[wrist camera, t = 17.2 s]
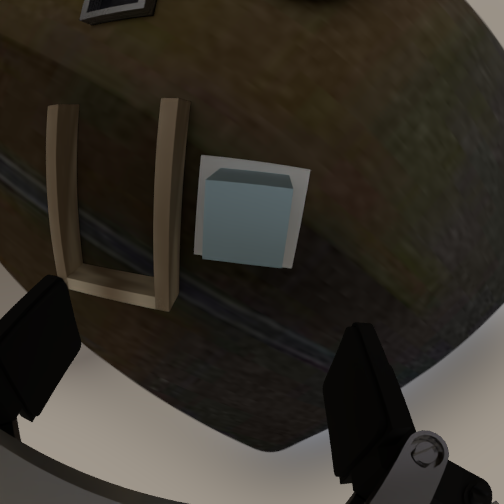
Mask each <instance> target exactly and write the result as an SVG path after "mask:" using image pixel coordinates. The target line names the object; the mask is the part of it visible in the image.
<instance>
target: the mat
mask: <svg viewBox="0 0 504 504" xmlns="http://www.w3.org/2000/svg"><path fill="white" fill-rule="evenodd" d="M220 168H229V169H239V170H250V171H259V172H268V173H277V174H285V175H289V176H290V180H291V183H292V186H293V196H292V203H291V210H290V217H289V224H288V231H287V238H286V245H285V251H284V258H283V264H282V267H285V268H292V264H293V260H294V255H295V250H296V245H297V240H298V235H299V230H300V224H301V219H302V214H303V209H304V203H305V198H306V192H307V187H308V181H309V175H310V169H304V168H299V167H293V166H286V165H280V164H273V163H267V162H259V161H252V160H244V159H236V158H228V157H219V156H209V155H201V162H200V173H199V185H198V197H197V211H196V225H195V242H194V254H197V255H202V247H203V220H204V199H205V181H206V179H207V178H208V177H210V176H211V175H212V174H213V173H215V172H216V171H217V170H218V169H220Z"/></svg>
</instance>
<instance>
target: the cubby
mask: <svg viewBox="0 0 504 504" xmlns="http://www.w3.org/2000/svg"><path fill="white" fill-rule="evenodd" d="M190 105H191V101H187V100H183V99H179V98H161V105H160V115H159V125H158V136H157V149H156V164H155V184H154V220H153V253H154V277H151V276H146V275H140V274H135V273H130V272H124V271H119V270H114V269H109V268H104V267H99V266H94V265H89V264H84V263H83V258H82V250H81V240H80V230H79V217H78V200H77V133H78V117H79V104H58V105H51V106H48V112H47V130H46V180H47V198H48V211H49V221H50V230H51V238H52V246H53V252H54V259H55V265H56V270H57V276H58V277H61V278H63V280H64V282H65V283H66V284H67V287H68V289H71V290H75V291H79V292H83V293H87V294H91V295H95V296H99V297H103V298H107V299H111V300H116V301H120V302H124V303H129V304H133V305H138V306H143V307H147V308H152V309H157V310H162V311H167V312H169V311H170V309H171V307H172V305H173V303H174V302H175V300H176V298H177V296H178V294H179V260H180V229H181V208H182V192H183V177H184V164H185V152H186V142H187V132H188V122H189V113H190Z"/></svg>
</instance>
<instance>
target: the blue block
mask: <svg viewBox="0 0 504 504" xmlns="http://www.w3.org/2000/svg"><path fill="white" fill-rule="evenodd" d="M292 196H293V186H292V183H291V180H290V176H289V175H285V174H277V173H268V172H259V171H250V170H239V169H229V168H220V169H218V170H217V171H216V172H215V173H213V174H212V175H211V176H210V177H208V178H207V179H206V181H205V199H204V220H203V247H202V259H207V260H215V261H224V262H232V263H240V264H249V265H257V266H266V267H275V268H282V264H283V258H284V251H285V245H286V238H287V231H288V224H289V217H290V210H291V203H292Z"/></svg>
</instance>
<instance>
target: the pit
mask: <svg viewBox="0 0 504 504" xmlns="http://www.w3.org/2000/svg"><path fill="white" fill-rule="evenodd" d="M156 2H157V0H85V1H84V4H83V8H82V12H81V16H80V21H82V22H85V23H87V24H90V25H96V24H101V23H106V22H111V21H117V20H123V19H130V18H137V17H145V16H153V15H154V10H155V6H156Z"/></svg>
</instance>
